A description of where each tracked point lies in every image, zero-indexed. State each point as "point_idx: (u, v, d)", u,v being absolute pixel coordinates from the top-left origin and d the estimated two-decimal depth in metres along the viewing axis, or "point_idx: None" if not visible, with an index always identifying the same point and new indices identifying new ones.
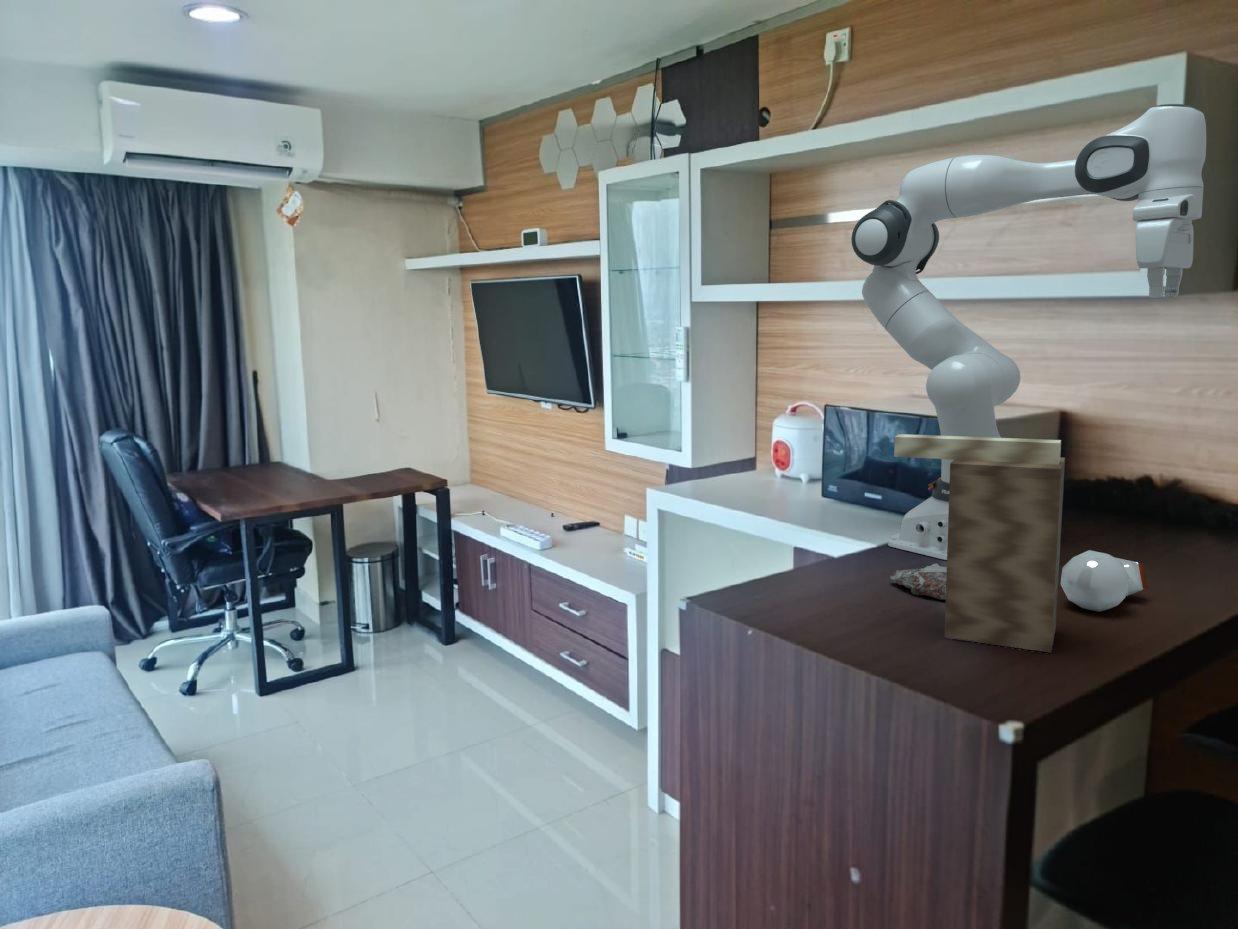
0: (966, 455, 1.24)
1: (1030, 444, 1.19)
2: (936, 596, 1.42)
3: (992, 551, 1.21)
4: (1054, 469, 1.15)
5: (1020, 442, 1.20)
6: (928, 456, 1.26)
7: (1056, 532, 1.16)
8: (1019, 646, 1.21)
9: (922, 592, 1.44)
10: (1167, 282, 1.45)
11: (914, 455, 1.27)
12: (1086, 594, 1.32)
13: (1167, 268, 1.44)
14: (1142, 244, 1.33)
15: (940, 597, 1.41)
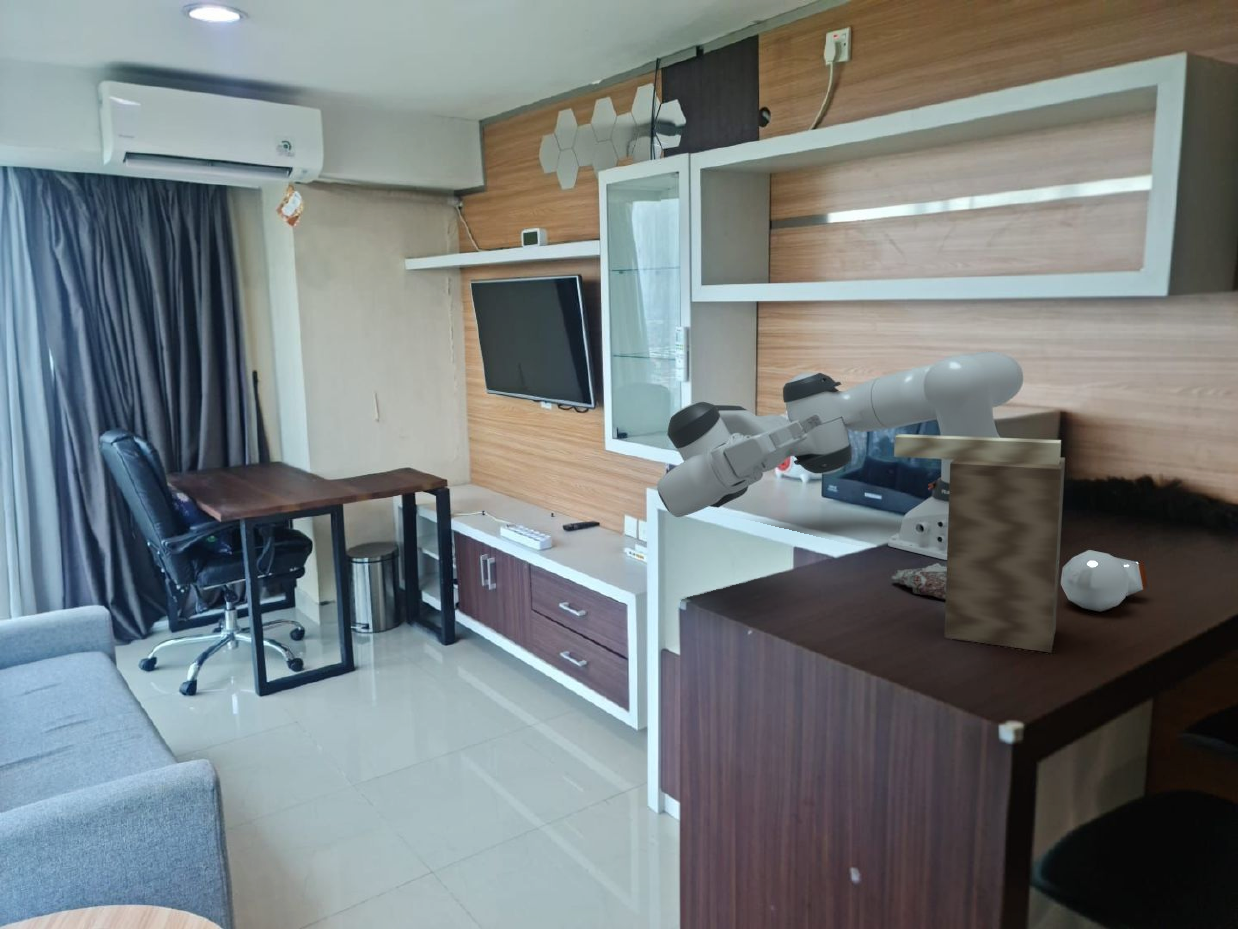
0: (966, 455, 1.24)
1: (1030, 444, 1.19)
2: (938, 595, 1.42)
3: (992, 551, 1.21)
4: (1054, 469, 1.15)
5: (1020, 442, 1.20)
6: (928, 456, 1.26)
7: (1056, 532, 1.16)
8: (1019, 646, 1.21)
9: (924, 592, 1.44)
10: (809, 429, 1.41)
11: (914, 455, 1.27)
12: (1086, 594, 1.32)
13: (798, 436, 1.42)
14: (748, 460, 1.31)
15: (942, 596, 1.42)
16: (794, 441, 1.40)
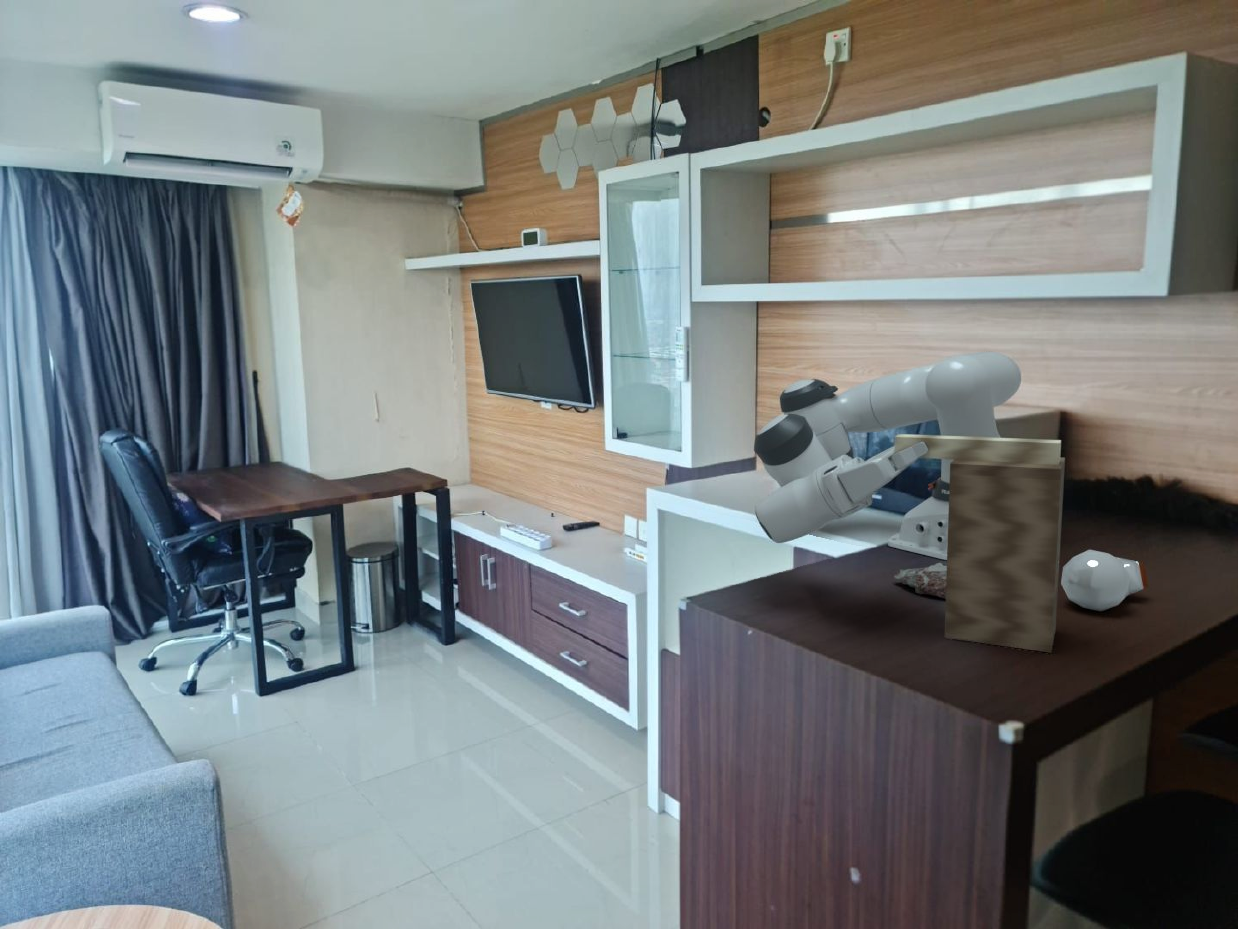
0: (966, 455, 1.24)
1: (1030, 444, 1.19)
2: (940, 595, 1.42)
3: (992, 551, 1.21)
4: (1054, 469, 1.15)
5: (1020, 442, 1.20)
6: (928, 456, 1.26)
7: (1056, 532, 1.16)
8: (1019, 646, 1.21)
9: (926, 591, 1.44)
10: None
11: None
12: (1087, 593, 1.32)
13: None
14: (867, 486, 1.23)
15: (945, 596, 1.42)
16: (908, 463, 1.32)
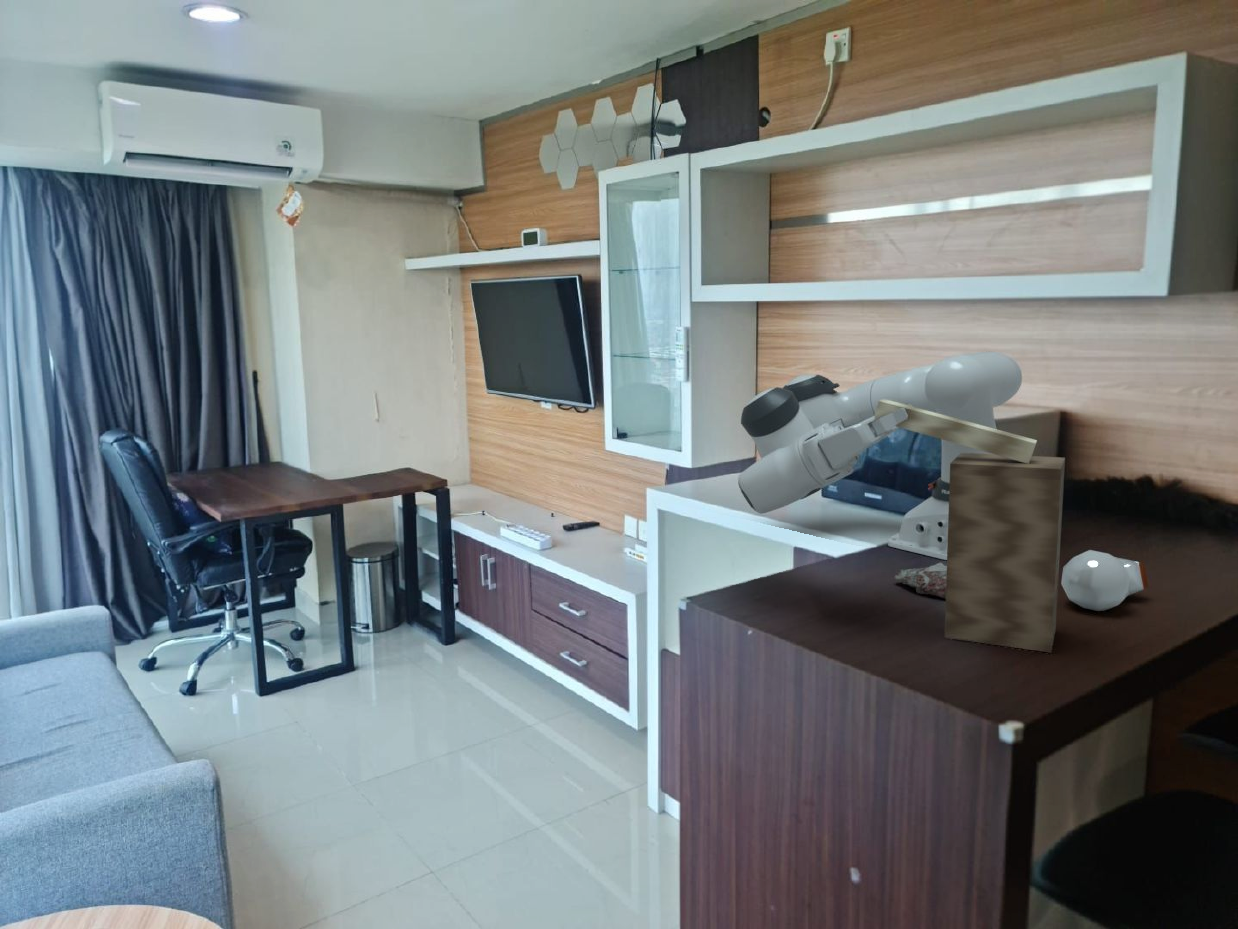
0: (943, 434, 1.24)
1: (1007, 438, 1.20)
2: (941, 595, 1.42)
3: (992, 551, 1.21)
4: (1054, 469, 1.15)
5: (998, 434, 1.21)
6: (906, 427, 1.27)
7: (1056, 532, 1.16)
8: (1019, 646, 1.21)
9: (927, 591, 1.44)
10: None
11: None
12: (1087, 594, 1.33)
13: None
14: (847, 451, 1.23)
15: (945, 596, 1.42)
16: (889, 431, 1.32)
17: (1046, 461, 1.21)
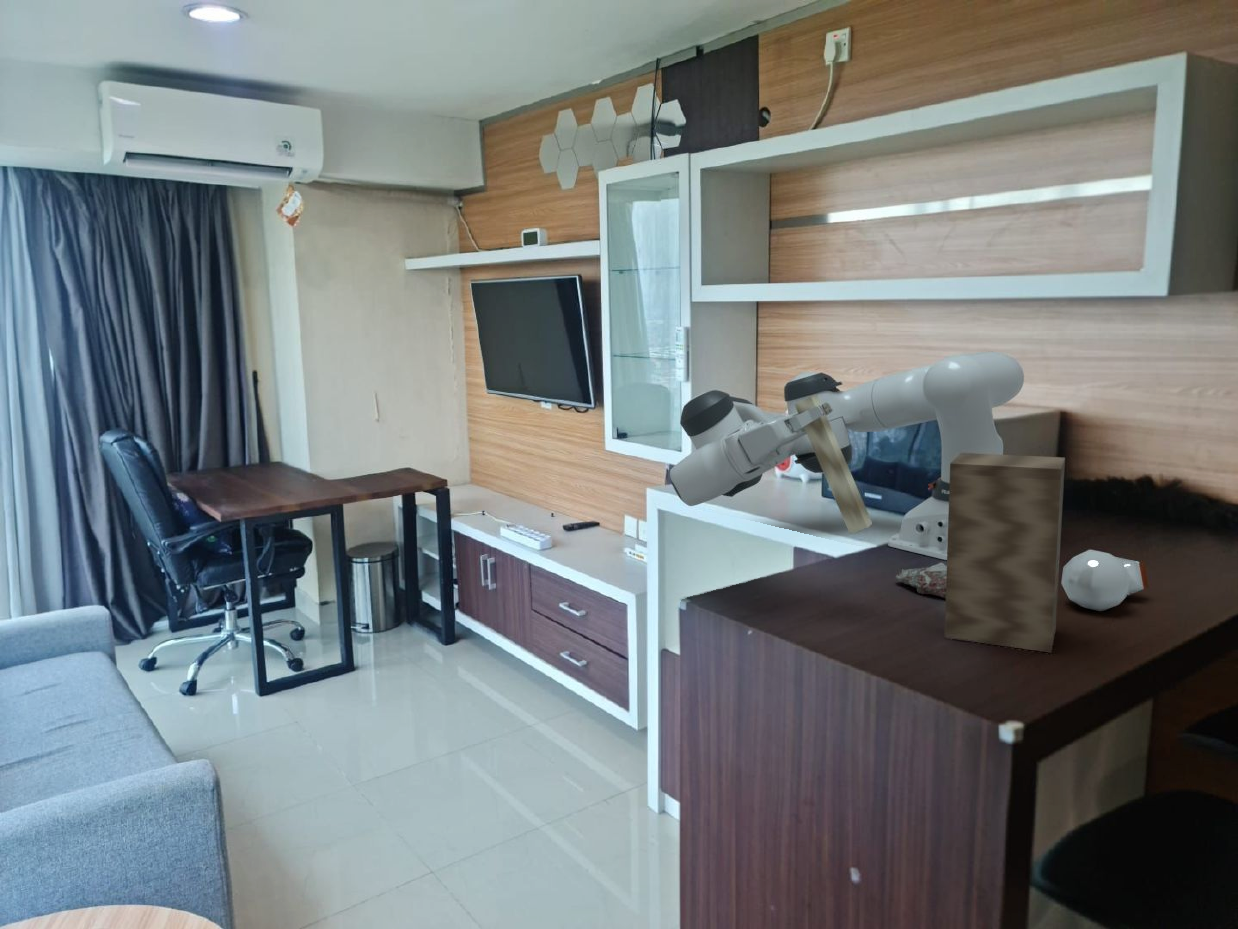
0: (823, 461, 1.34)
1: (856, 506, 1.33)
2: (942, 595, 1.42)
3: (992, 551, 1.21)
4: (1054, 469, 1.15)
5: (854, 498, 1.33)
6: (808, 432, 1.35)
7: (1056, 532, 1.16)
8: (1019, 646, 1.21)
9: (928, 591, 1.44)
10: None
11: None
12: (1087, 593, 1.33)
13: None
14: (763, 447, 1.30)
15: None
16: None
17: (1046, 461, 1.21)
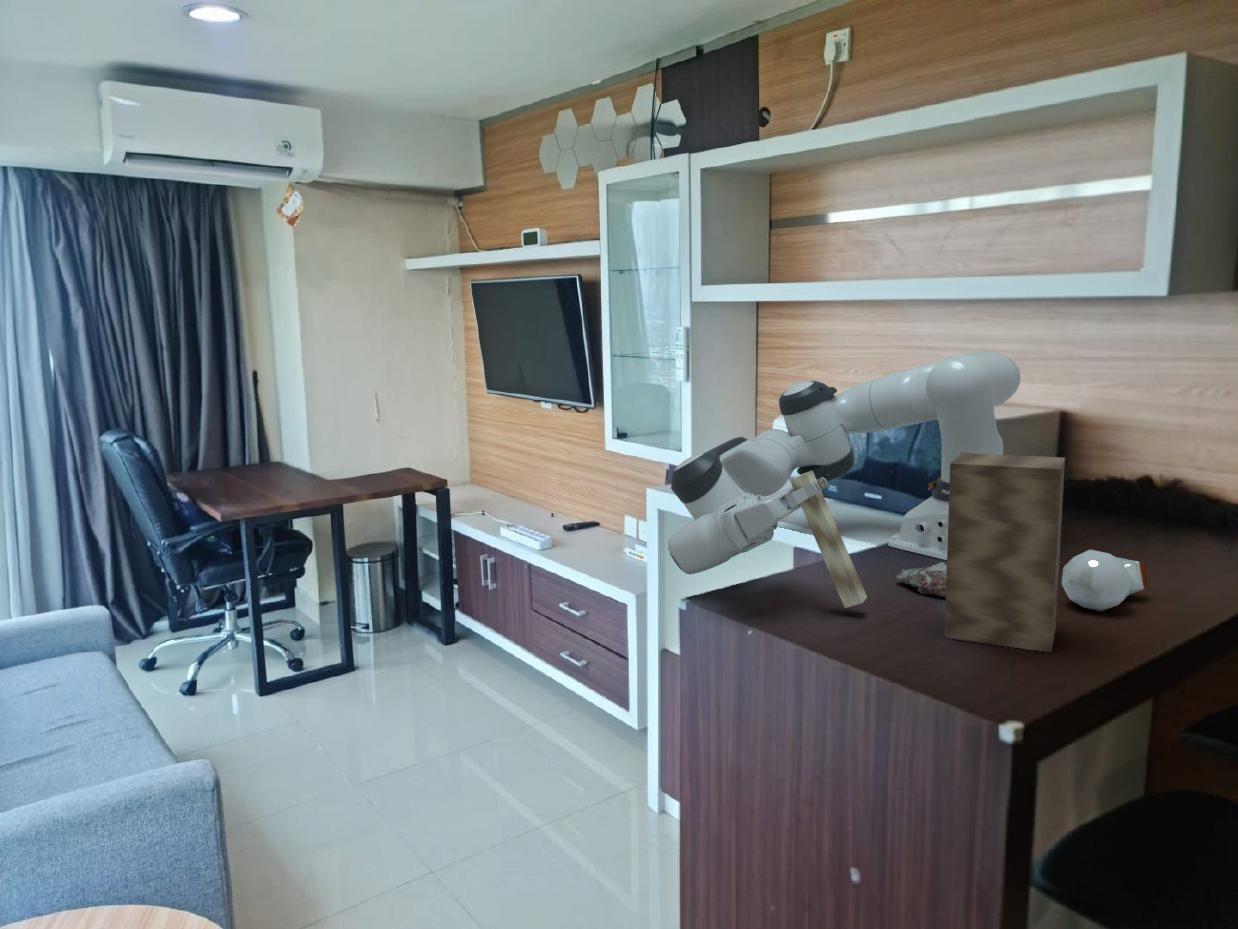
0: (819, 537, 1.36)
1: (851, 582, 1.35)
2: (943, 595, 1.42)
3: (992, 551, 1.21)
4: (1054, 469, 1.15)
5: (849, 574, 1.35)
6: (803, 507, 1.37)
7: (1056, 532, 1.16)
8: (1019, 646, 1.21)
9: (929, 591, 1.44)
10: None
11: None
12: (1087, 593, 1.33)
13: None
14: (759, 525, 1.32)
15: None
16: None
17: (1046, 461, 1.21)
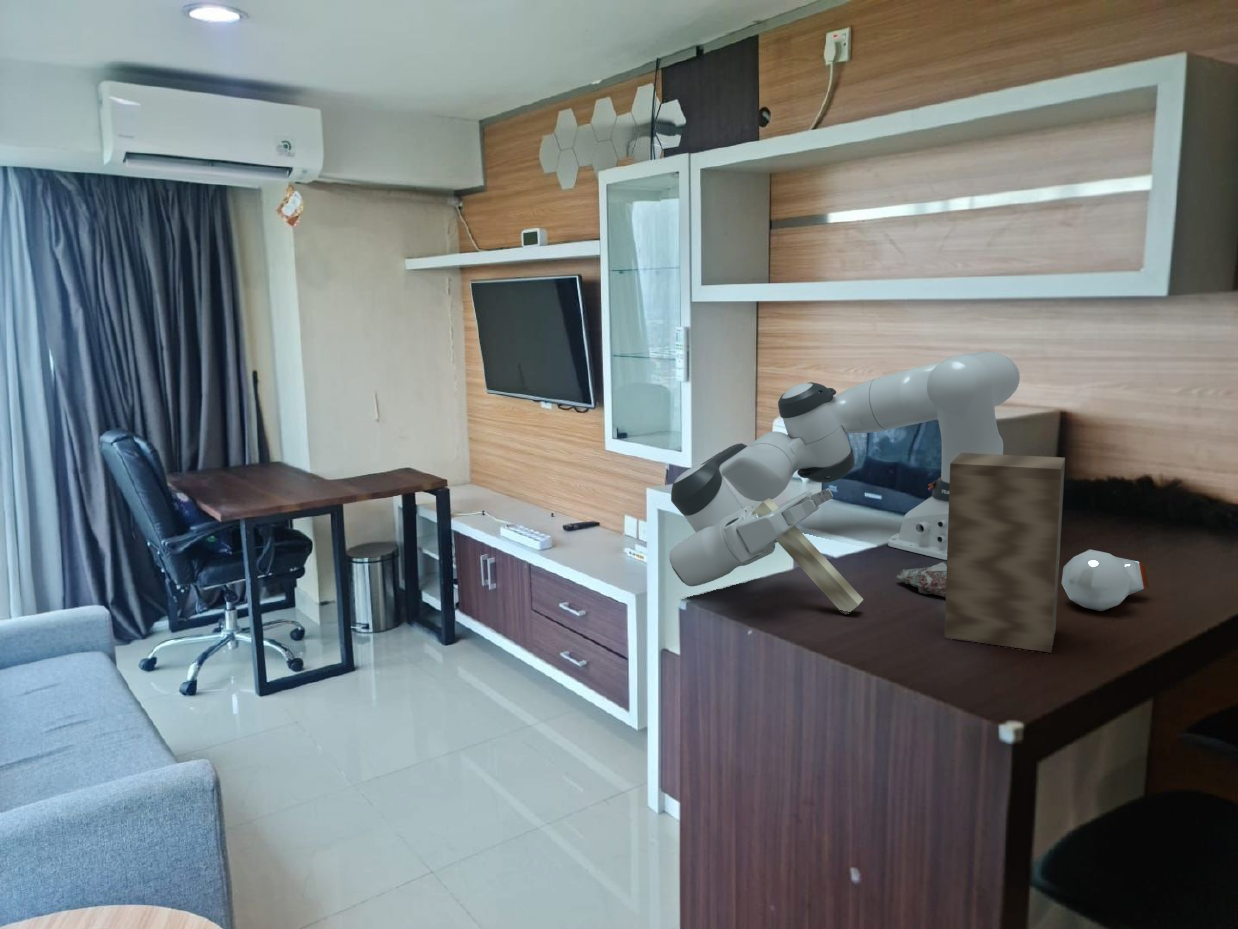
0: (796, 556, 1.39)
1: (840, 588, 1.36)
2: (944, 595, 1.42)
3: (992, 551, 1.21)
4: (1054, 469, 1.15)
5: (836, 581, 1.36)
6: None
7: (1056, 532, 1.16)
8: (1019, 646, 1.21)
9: (930, 591, 1.44)
10: (820, 502, 1.42)
11: None
12: (1087, 593, 1.33)
13: None
14: (761, 539, 1.32)
15: None
16: (806, 515, 1.41)
17: (1046, 461, 1.21)
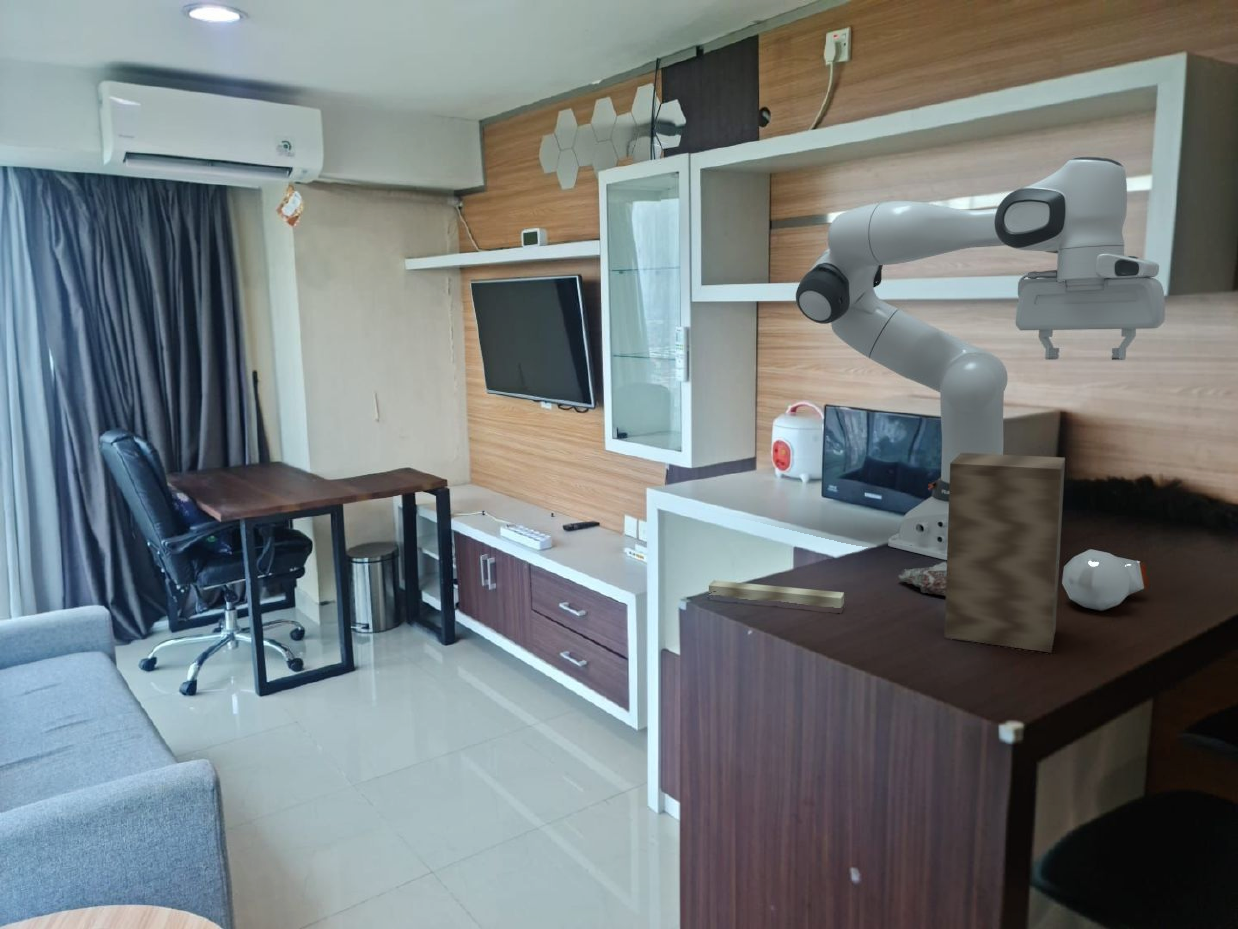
0: None
1: (818, 598, 1.39)
2: None
3: (992, 551, 1.21)
4: (1054, 469, 1.15)
5: (810, 596, 1.39)
6: None
7: (1056, 532, 1.16)
8: (1019, 646, 1.21)
9: (932, 591, 1.44)
10: (1048, 344, 1.35)
11: None
12: (1087, 593, 1.33)
13: (1048, 329, 1.35)
14: (1159, 303, 1.24)
15: None
16: (1067, 329, 1.33)
17: (1046, 461, 1.21)
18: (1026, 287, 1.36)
